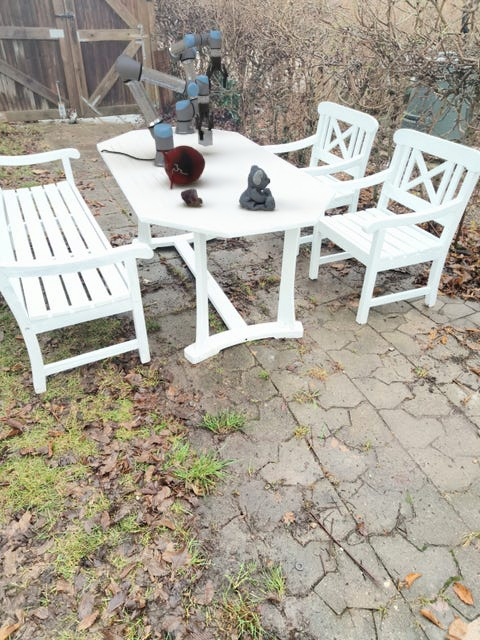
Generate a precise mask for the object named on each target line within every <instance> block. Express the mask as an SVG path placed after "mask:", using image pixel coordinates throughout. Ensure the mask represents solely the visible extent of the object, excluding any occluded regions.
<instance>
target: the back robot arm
mask: <svg viewBox="0 0 480 640" xmlns="http://www.w3.org/2000/svg"><path fill="white" fill-rule="evenodd" d="M196 47H210V56H211V57H210V62H211V64H209V63H208V64H207V68H206V71H205V75H204V76H207V77H208V81H209V91H211V90H212V82H211V78H212V76H213V74H214V73H215V72H219V73H220V74H221V76H222V88H223V89H227V79H228V78H229V77H230V76H229V72H228V71H227V68H226V64H225V63H224V62H222V35H221V31H220V30H210V31H209V33H189V34H185V35H184V38H183V39H180V40H179V41H177V42H173V43H171V44H169V45H168V46H167V48H166V54H167V56H168V58H169V59H170V60H172V61H174V62H180V65H181V66H183V71H184V75H185V80H195V79H197V76H198V75H197V72H196V67H195V62H196V59H197V49H196ZM198 103H199V102H198V95H197V96H195V97H191V96H189V99H183V100H179V101H177V102H176V103H175V112H176V113H175V114H176V115H175V116H176V124H175V125H176V126H175V134H178V135H190V134H193V133H194V132H195V129H194V128H195V123H192V118H195V113H198V111H199V109H198ZM199 117H200V115H199Z"/></svg>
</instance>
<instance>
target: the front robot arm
mask: <svg viewBox="0 0 480 640" xmlns="http://www.w3.org/2000/svg"><path fill="white" fill-rule="evenodd" d="M114 68H115V71H116V73H117V74H118V76H119V78H120V79H121V81H122V83H123V85H126V86H128V89H129V90H130V93H131V94H132V96H133V99H134V100H135V102H136V105H138V107H139V110H140V111H141V113H142V115H143V117H144V118H145V120H146V122H147V123H146V127H147V129H148V131H149V133H150V136H151V137H152V139H153V140H154V145H155V155H154V158H141V157H136V156H134V155H130V154H128V153H125V152H121V151H114V150H113V151H112V150H108V149H102V150H100V152H101V153H103V152H107V153H113V154H119V155H120V154H121V155H125V156H127V157H130V158H131V159H135V160H138V161H148V162H149V161H154V165H155V166H157V167H163V168H164V165H165V161H164V155H163V153H162V152H161V149H162V150H163V151H164V152H165V153H166V154H167V152H168V151H170V150H172V149H173V148H175V143H174V130H173V127H172V125H171V124H168V123H166V121H165V119H164V118H163V116H160V115H159V113H158V111H157V109H156V107H155V105H154V103H153V102H152V99H151V98H150V96H149V94H148V92H147V90H146V88H145V86H144V84H143V82H146V83H149V84H152V85H155V86H159V87H161V88H164V89H168V90H172V91H175V92H178V93H179V94H184V95H187V96H189V97H190V96H191V97H195V96H197V95H198V102H199V103H198V109H199V111H198V113H195V117H194V119H195V120H194V124H195V127H194V128H195V129H194V130H197V136H198V135H199V138H200V140H201V141H203V137H202V130H201V129H203V128H202V127H203V123H204V119H205V121H206V125H207V127H208V128H207V129H209V130H213V128H215V121H214V111H212V110H210V106H211V105H210V90H209V81H208V77H207V76H205V75H202V74H201V75H196V76H197V79H195V80H186V79H184V78H181V77H178V76H174V75H172V74H169V73H165V72H163V71H160V70H157V69H153V68H150V67H147V66H145V64H144V63H142V62H139V61H137V60H135V59H134V58H132V57H131V56H130V55H128V54H121V55H118V56H117V58H116V59H115V61H114ZM199 115H200V117H199Z"/></svg>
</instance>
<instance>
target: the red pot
mask: <svg viewBox="0 0 480 640" xmlns="http://www.w3.org/2000/svg"><path fill="white" fill-rule="evenodd" d="M161 152H162V153H163V155H164V161H165V165H164V167H163V168H164V172H165V174H166V176H167V177H168V180H169V182H170V186H169V187H170V189H171V190H172V188H173V186H174V185H177V186H178V185H180V186H188V185H192V184H194V183H196V182H197V181H198V180H199V179H200V178H201V176H202V175H203V172H204V170H205V168H206V160H205V158H204V156H203V155H202V153H201V152H200V151H198V150H197V149H196V148H194V147H193V146H190V145H178V146H174V148H173V149H172V150H170V151H168V152H167V154H166V153H165V152H164V151H163V150H162V149H161Z"/></svg>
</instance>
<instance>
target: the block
mask: <svg viewBox="0 0 480 640" xmlns="http://www.w3.org/2000/svg"><path fill="white" fill-rule="evenodd" d="M201 130H202V137H203V141H201V140H200V138H199V135H198V134H197V143H198V145H200V146H203V147H210V146H213V145H214V143H213V142H214V141H213V139H214V138H213V129H211V130H209V129H208V128H205V127H204V128H201Z"/></svg>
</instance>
